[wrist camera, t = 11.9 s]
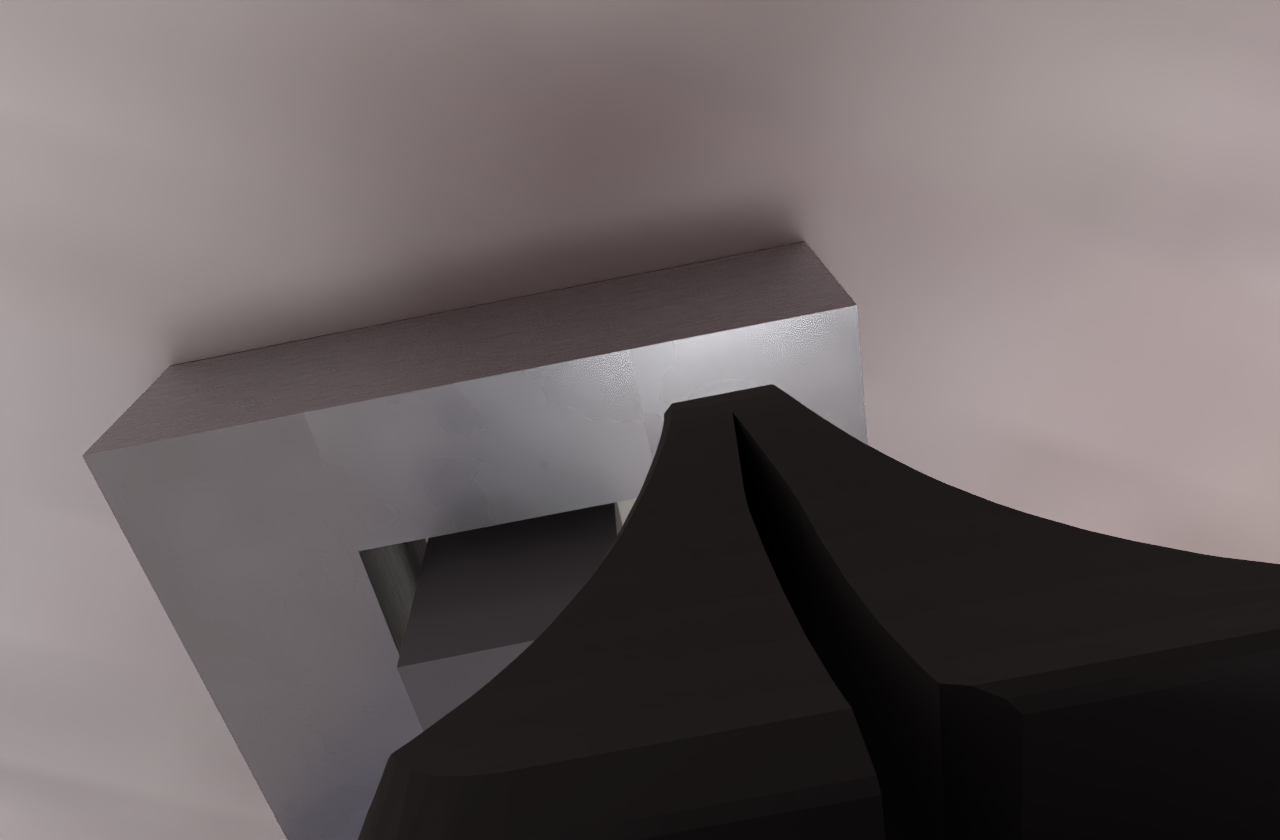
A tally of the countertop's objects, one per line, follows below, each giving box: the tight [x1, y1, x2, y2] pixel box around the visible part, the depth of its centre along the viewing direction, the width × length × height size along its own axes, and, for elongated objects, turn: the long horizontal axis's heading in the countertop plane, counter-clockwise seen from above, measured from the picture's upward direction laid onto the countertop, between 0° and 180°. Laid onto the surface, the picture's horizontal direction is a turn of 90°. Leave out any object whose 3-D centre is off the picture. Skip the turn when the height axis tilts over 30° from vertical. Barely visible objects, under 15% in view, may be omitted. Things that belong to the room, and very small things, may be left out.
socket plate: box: [83, 242, 867, 840], centre depth 21 cm, size 14×13×4 cm
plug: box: [397, 502, 623, 731], centre depth 19 cm, size 4×5×6 cm
